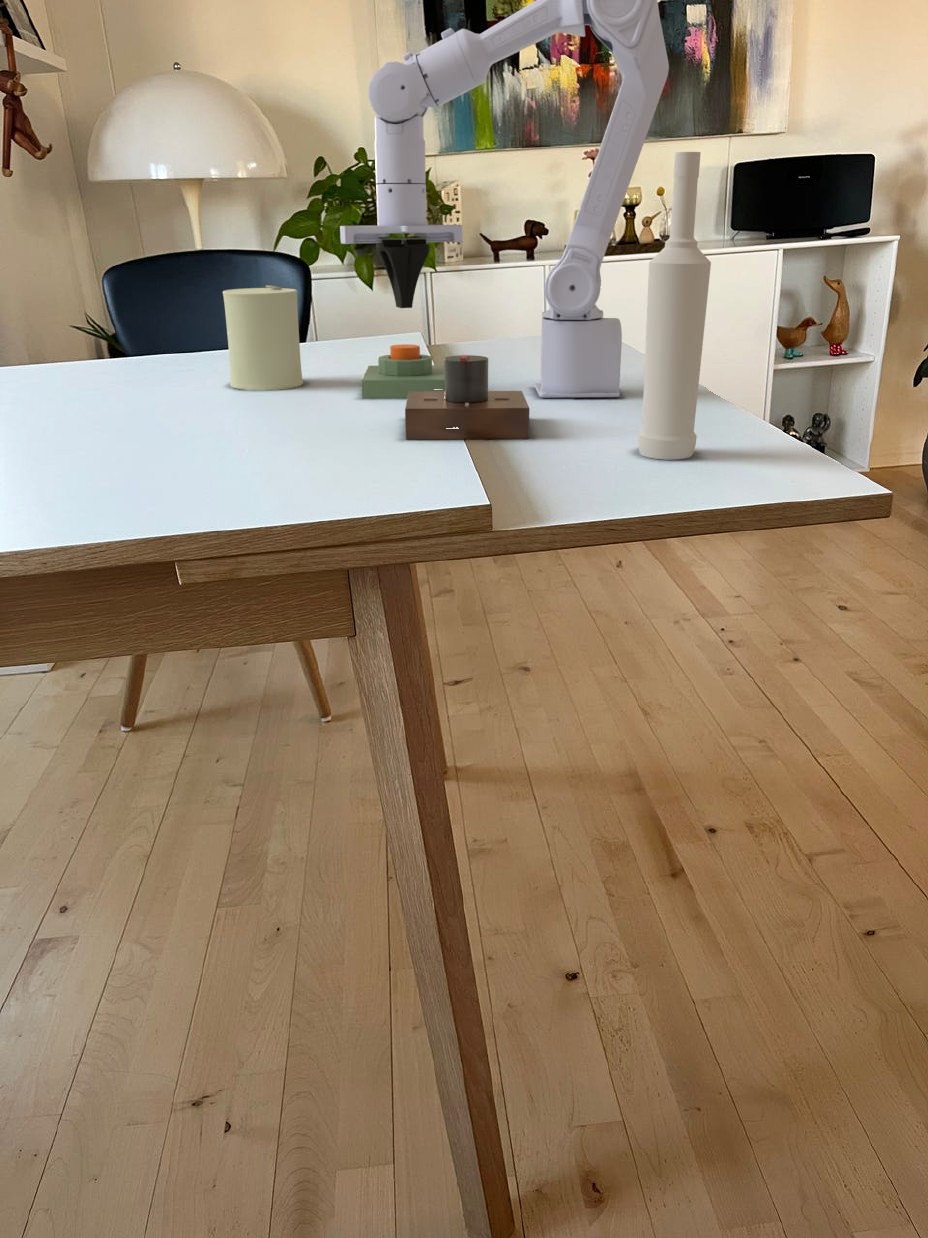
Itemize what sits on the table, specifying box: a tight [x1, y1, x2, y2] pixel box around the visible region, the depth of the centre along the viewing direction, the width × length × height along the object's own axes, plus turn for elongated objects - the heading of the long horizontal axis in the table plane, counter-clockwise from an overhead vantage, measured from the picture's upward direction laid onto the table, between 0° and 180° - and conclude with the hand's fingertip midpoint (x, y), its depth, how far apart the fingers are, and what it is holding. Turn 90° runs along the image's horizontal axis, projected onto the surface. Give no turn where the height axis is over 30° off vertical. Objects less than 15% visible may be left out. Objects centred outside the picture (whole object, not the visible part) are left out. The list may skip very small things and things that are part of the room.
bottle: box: [637, 151, 712, 461], centre depth 87 cm, size 5×5×25 cm
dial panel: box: [404, 390, 530, 440], centre depth 102 cm, size 12×10×3 cm
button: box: [389, 343, 421, 360], centre depth 123 cm, size 4×4×2 cm
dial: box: [443, 354, 489, 403], centre depth 101 cm, size 4×4×4 cm
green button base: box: [360, 353, 444, 400], centre depth 124 cm, size 10×12×4 cm
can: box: [222, 285, 304, 391], centre depth 127 cm, size 9×9×12 cm
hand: (404, 307), depth 121 cm, fingers closed
